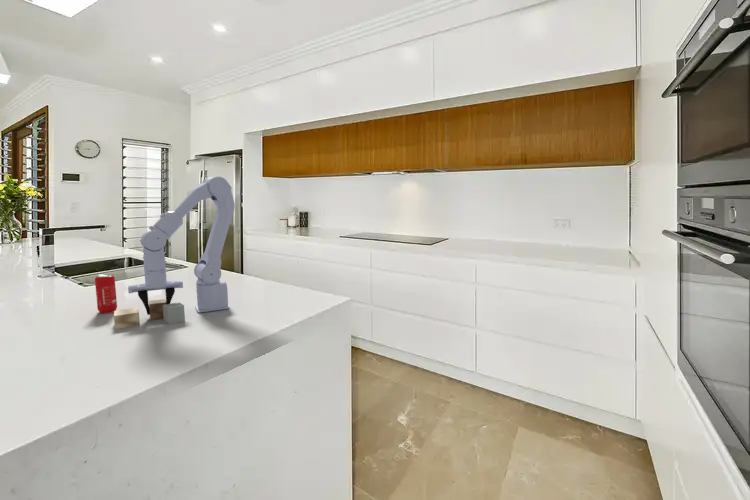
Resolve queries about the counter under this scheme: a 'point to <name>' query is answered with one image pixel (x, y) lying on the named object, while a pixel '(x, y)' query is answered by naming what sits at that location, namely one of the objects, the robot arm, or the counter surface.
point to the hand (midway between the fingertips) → (158, 312)
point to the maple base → (126, 318)
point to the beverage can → (106, 293)
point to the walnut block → (156, 309)
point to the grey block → (173, 313)
